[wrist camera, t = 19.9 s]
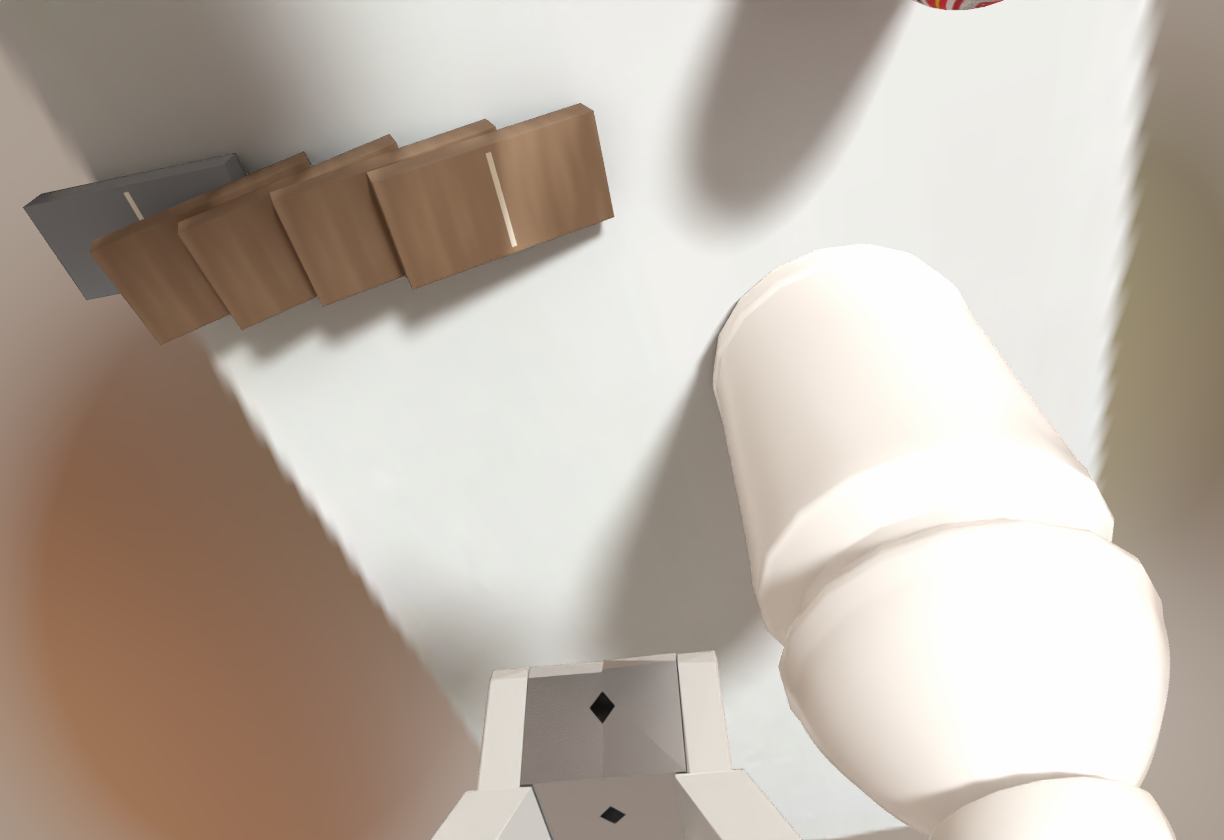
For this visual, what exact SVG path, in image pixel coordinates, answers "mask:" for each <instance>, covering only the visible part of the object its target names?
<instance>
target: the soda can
mask: <svg viewBox="0 0 1224 840" xmlns="http://www.w3.org/2000/svg"><path fill="white" fill-rule="evenodd" d="M913 1H916V2H918V3H921V4H923V5H926V6H928V7H933V8H938V9H944V10H968V9H974V8H980V7H985V6H988V5H991V4H994V3H997V2H1000V1H1003V0H913Z"/></svg>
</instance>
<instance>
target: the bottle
mask: <svg viewBox="0 0 1224 840" xmlns="http://www.w3.org/2000/svg"><path fill="white" fill-rule="evenodd" d="M713 390H714V394H715V397H716V401H717V404H718V408H719V411H720V415H721V418H722V422H723V426H724V431H725V436H726V441H727V447H728V452H729V457H730V462H731V467H732V472H733V477H734V481H735V486H736V491H737V496H738V501H739V506H740V511H741V516H742V521H743V527H744V532H745V538H746V543H747V549H748V554H749V560H750V565H751V573H752V584H753V587H754V590H755V594H756V597H757V601H758V604H759V607H760V611H761V614H762V617H763V621H764V624H765V627H766V630H767V631H768V632H769V633H770V634H771V635H772V636H773V637H775V638H776V639H777V640H778V641H779V642H780V643H781V644H782V645H783V646H784V648H783V652H782V655H781V659H780V662H779V666H778V667H779V672H780V676H781V679H782V682H783V686H784V689H785V692H786V696H787V699H788V702H789V706H790V709H791V710H792V712H793V713H794V714H795V715H796V717H797V718H798V719H799V720H800V722H801V723H802V725H803V727H804V729H805V730H806V732H807V734H808V735H809V737H810V738H811V740H812V741H813V742H814V744H815V745H816V746H817V748H818V749H819V750H820V751H821V752H822V754H823V755H824V756H825V757H826V758H827V759H828V760H829V761H830V762H831V763H832V764H833V765H834V766H835V767H836V768H837V769H838V770H839V771H840V772H841V773H842V774H843V775H844V776H845V777H847V778H848V779H849V780H850V781H851V782H852V783H853V784H855V785H856V786H857V787H858V788H859V789H860V790H862V791H863V792H864V793H865V794H866V795H867V796H869V797H870V798H871V799H872V800H873V801H874V802H876V803H877V804H878V805H879V806H881V807H882V808H883V809H884V810H886V811H887V812H888V813H890V814H891V815H893V816H894V817H895V818H897V819H898V820H900V821H901V822H903V823H905V824H906V825H908V826H909V827H911V828H913V829H915V830H916V831H918V832H920V833H922V834H924V835H926V836H928V837H929V839H928V840H1176V837H1175V835H1174V833H1173V830H1172V829H1171V826H1170V824H1169V822H1168V820H1167V819H1166V817H1165V815H1164V813H1163V812H1162V810H1161V809H1160V807H1159V806H1158V804H1157V803H1156V801H1155V800H1154V799H1153V797H1152V796H1151V794H1150V793H1149V792H1147V791H1145V790H1142V789H1140V788H1139V787H1140V785H1141V783H1142V781H1143V779H1144V777H1145V775H1146V773H1147V771H1148V769H1149V766H1150V764H1151V761H1152V758H1153V755H1154V752H1155V749H1156V745H1157V742H1158V737H1159V733H1160V728H1161V723H1162V719H1163V714H1164V709H1165V705H1166V699H1167V693H1168V686H1169V675H1170V653H1169V643H1168V637H1167V632H1166V628H1165V625H1164V621H1163V612H1162V602H1161V600H1160V598H1159V596H1158V594H1157V593H1156V590H1155V588H1154V587H1153V585H1152V583H1151V581H1150V579H1149V577H1148V575H1147V573H1146V571H1145V570H1144V568H1143V566H1142V565H1141V563H1140V562H1139V559H1137V557H1135V556H1133V555H1131V554H1130V553H1128V552H1127V551H1125V550H1123V549H1121V548H1120V547H1118V546H1116V545H1115V544H1113V543H1112V534H1113V525H1114V518H1113V516H1112V514H1111V512H1110V510H1109V508H1108V506H1107V504H1106V503H1105V501H1104V499H1103V497H1102V495H1101V493H1100V491H1099V489H1098V487H1097V486H1096V484H1095V482H1094V480H1093V479H1092V477H1091V476H1090V474H1089V472H1088V470H1087V468H1086V467H1085V466H1084V465H1083V464H1082V463H1081V462H1080V461H1079V460H1078V459H1077V458H1076V457H1075V456H1074V454H1073V453H1072V452H1071V450H1070V449H1069V448H1068V446H1067V445H1066V444H1065V442H1064V441H1063V440H1062V438H1061V437H1060V436H1059V434H1058V433H1057V432H1056V430H1055V429H1054V428H1053V426H1052V425H1051V424H1050V422H1049V421H1048V419H1047V418H1046V417H1045V415H1044V414H1043V413H1042V411H1041V410H1040V409H1039V407H1038V406H1037V404H1036V403H1035V402H1034V400H1033V399H1032V398H1031V396H1030V395H1029V393H1028V392H1027V391H1026V389H1025V388H1024V387H1023V385H1022V384H1021V382H1020V381H1019V379H1018V378H1017V377H1016V375H1015V374H1014V372H1013V371H1012V370H1011V368H1010V367H1009V365H1008V364H1007V363H1006V361H1005V360H1004V358H1003V357H1002V356H1001V354H1000V353H999V351H998V350H997V349H996V347H995V346H994V345H993V343H992V342H991V341H990V339H989V338H988V336H987V335H986V334H985V332H984V331H983V330H982V328H981V327H980V326H979V324H978V323H977V321H976V320H975V319H974V317H973V316H972V314H971V313H970V311H969V309H968V307H967V305H966V304H965V302H964V300H963V298H962V297H961V295H960V293H959V291H958V289H957V288H956V286H954V285H953V284H952V283H951V282H950V281H948V280H947V279H946V278H945V277H944V276H942V275H941V274H939V273H938V272H937V271H935V270H934V269H932V268H931V267H929V266H928V265H926V264H925V263H924V262H922V261H921V260H919V259H918V258H916V257H915V256H913V255H912V254H910V253H908V252H903V251H898V250H893V249H889V248H884V247H879V246H874V245H870V244H857V245H849V246H841V247H832V248H824V249H817V250H815V251H813V252H811V253H808V254H806V255H804V256H802V257H799V258H797V259H795V260H793V261H790V262H788V263H786V264H784V265H781V266H779V267H777V268H775V269H773V270H772V271H771V272H770V273H769V274H768V275H767V276H765V277H764V278H763V279H762V280H761V281H760V282H759V283H757V284H756V285H755V286H754V287H753V288H752V289H750V290H749V291H748V292H747V293H746V294H745V295H744V296H742V297H741V298H740V300H739V301H738V303H737V305H736V307H735V308H734V310H733V312H732V313H731V315H730V317H729V318H728V320H727V322H726V324H725V325H724V327H723V329H722V330H721V332H720V334H719V337H718V343H717V350H716V357H715V363H714V370H713Z"/></svg>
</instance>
